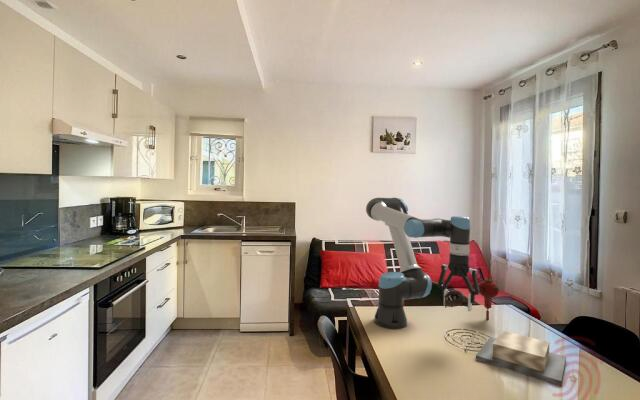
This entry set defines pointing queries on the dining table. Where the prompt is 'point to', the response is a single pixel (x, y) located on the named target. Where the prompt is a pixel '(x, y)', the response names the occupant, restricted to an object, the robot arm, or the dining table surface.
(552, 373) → the build base
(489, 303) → the lantern
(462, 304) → the pottery mug
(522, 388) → the dining table surface
